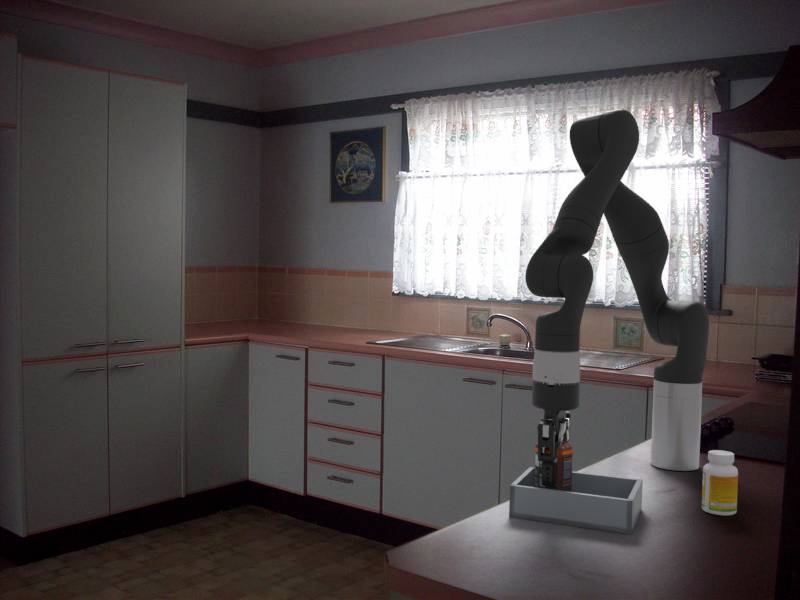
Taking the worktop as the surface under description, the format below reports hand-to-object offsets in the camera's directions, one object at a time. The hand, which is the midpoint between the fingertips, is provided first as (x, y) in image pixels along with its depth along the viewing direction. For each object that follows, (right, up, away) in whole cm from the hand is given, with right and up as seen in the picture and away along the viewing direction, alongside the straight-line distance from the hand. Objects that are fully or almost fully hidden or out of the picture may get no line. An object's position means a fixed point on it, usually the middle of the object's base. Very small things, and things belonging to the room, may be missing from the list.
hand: (553, 480), depth 133 cm
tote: (+4, -5, -1) cm, 6 cm away
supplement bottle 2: (+27, -6, +2) cm, 28 cm away
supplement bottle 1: (0, -3, 0) cm, 3 cm away
